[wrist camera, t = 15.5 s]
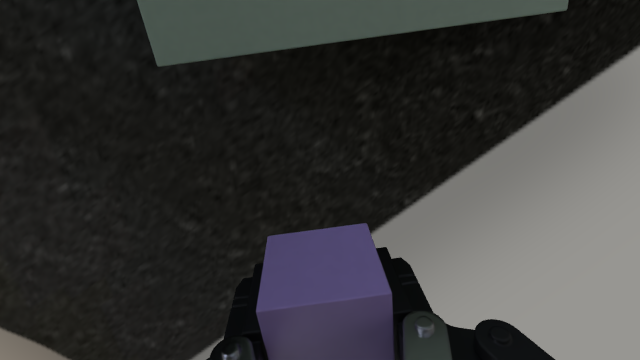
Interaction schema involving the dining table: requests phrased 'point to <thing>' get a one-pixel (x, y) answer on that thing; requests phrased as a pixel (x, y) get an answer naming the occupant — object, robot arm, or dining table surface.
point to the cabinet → (305, 22)
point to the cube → (325, 297)
